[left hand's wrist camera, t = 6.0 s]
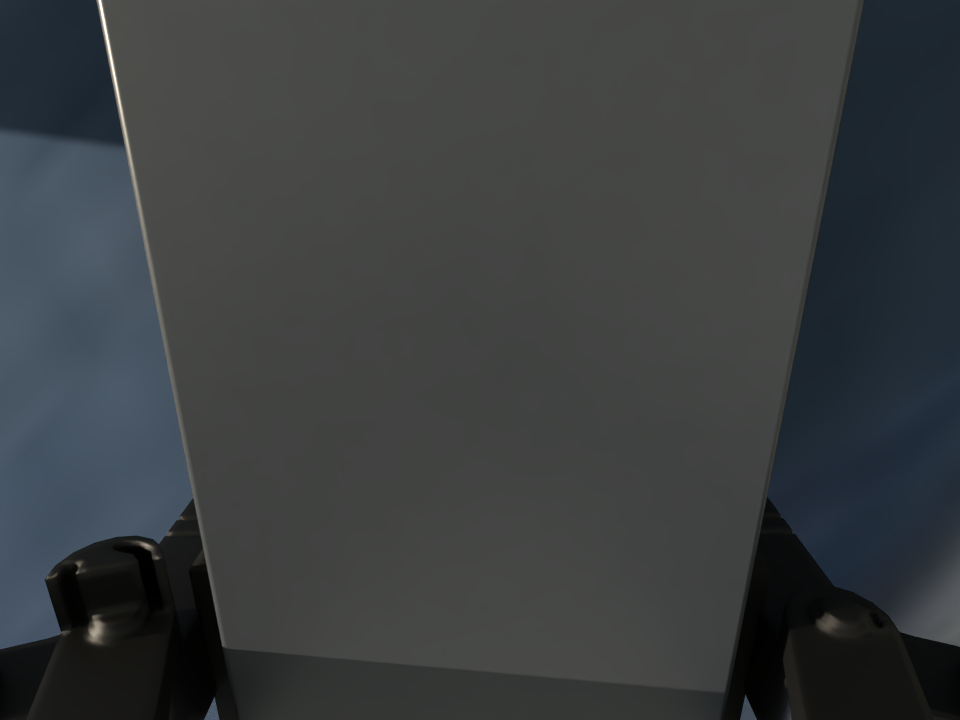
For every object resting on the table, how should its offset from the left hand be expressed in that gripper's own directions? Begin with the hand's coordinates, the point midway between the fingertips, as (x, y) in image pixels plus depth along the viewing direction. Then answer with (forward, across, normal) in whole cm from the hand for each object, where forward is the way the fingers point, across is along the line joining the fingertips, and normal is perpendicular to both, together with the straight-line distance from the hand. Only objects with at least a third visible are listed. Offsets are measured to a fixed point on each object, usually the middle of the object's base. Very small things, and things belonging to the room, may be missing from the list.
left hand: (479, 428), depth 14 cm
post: (0, 0, -23) cm, 23 cm away
